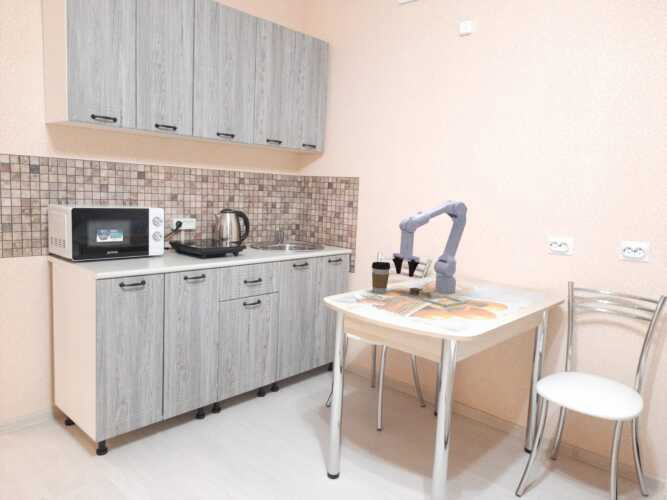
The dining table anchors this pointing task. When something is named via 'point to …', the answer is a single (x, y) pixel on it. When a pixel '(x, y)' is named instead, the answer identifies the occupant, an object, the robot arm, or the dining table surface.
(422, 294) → the oak tile
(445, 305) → the tray
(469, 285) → the dining table surface
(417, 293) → the walnut tile
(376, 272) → the coffee cup
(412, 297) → the slate board
